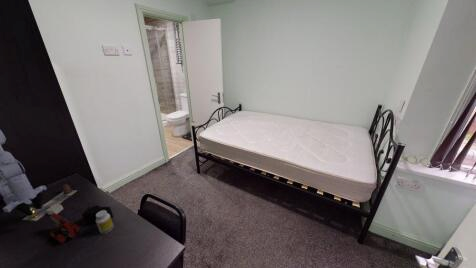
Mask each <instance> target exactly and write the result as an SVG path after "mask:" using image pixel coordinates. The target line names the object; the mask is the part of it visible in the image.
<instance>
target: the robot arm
mask: <svg viewBox="0 0 476 268" xmlns="http://www.w3.org/2000/svg"><path fill="white" fill-rule="evenodd" d="M6 139H7V137H6V136H5V134H4V133H3V131H2V129H0V195H1V197H2V198H3V201H4V203H5V204H6V205H5V206H4V207H2V210H3V212H4V213H10V212H11V211H12V210H14V209H15V210H17V211H19V212H22V213H23V214H25V216H26V217H27V216H31V215H33V214H32V212H31V210H30V207H31V206H30V205H31V204H32V205H33V206H34V208H35V209H36V210H37V209H41V208H42V206H43V204H42V201H43V197H44V194H43V193H41V192H43V191H46V190H48V189H47V187H46V185H40V186H38V187H36V188H33V186H32V185H31V183H30V181H29V179H28V177H27V175H26V174H25V173H26V169H25V168H24V165H23V164H22V163H21V162H20V161H19V160H18V159H16V158H15V157H14V156H13V154H12V153H11V152H9V151H6V150H4V148H3V147H2V145H3V144H5V143H6Z"/></svg>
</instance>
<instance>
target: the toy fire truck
mask: <svg viewBox="0 0 476 268" xmlns="http://www.w3.org/2000/svg"><path fill="white" fill-rule="evenodd" d="M49 217H50V219H51V221H52V223H53V224H54V226H55V229H52V230H50V231H49V234H50V236H51V237H52V238H53V239H54V240H57V241H58V242H59V244H63V243H65V242H66V241H67V238H68V237H69V238H71V239H73V238H74V237H76V234H78V233H79V232H80V231H81V229H80V227H79V225H77V224H74V223H73V222H72V221H71V220H69V219H67V218H65V217H63V216H61V215H59V213H58V214H56V213H53V214H51V215H49Z"/></svg>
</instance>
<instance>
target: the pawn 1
mask: <svg viewBox="0 0 476 268" xmlns="http://www.w3.org/2000/svg"><path fill="white" fill-rule="evenodd" d="M29 207H30V210H31V212H32V214H33V215H31V216H28V219H29V220H28V221H33V220H32V219H35V218H37V217H38V216H39V215H40V214H39V213H38V212H37V209H36V208H35V207H31V206H29Z"/></svg>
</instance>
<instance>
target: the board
mask: <svg viewBox="0 0 476 268" xmlns="http://www.w3.org/2000/svg"><path fill="white" fill-rule="evenodd" d="M71 190H72V192H71V193H70V194H67V195H64V192H63V191H62V192H61V193H59V194H57V195H55V197H53V198H52V199H51V200H49V201H47V202H46V203H44V204H42V208H41V209H36V210H37V212H38V213H39V214H40V215H39V216H38V217H37V218H35V219H32V220H31V221H35V222H37V221H38V220H40V219H41V218H43V217H44V216H45V215H46V214H48V213H47V211H46V210H47V209H49V208H50V207H52V206H53V205H54V204H55V205H61V203H63V202H64V201H66V200H67V199H68V198H69V197H70V196H72V195H74V194H75V193H76V192H77V191H78V190H74V189H71ZM21 220H22V221H30V220H29V219H28V216H27V215H26V216H25V217H24V218H23V219H21Z"/></svg>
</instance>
